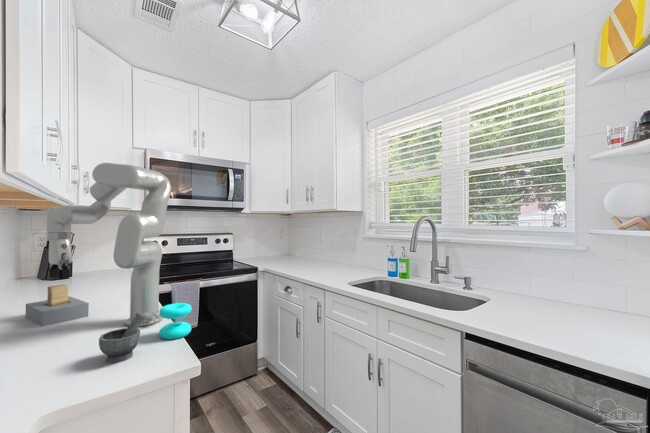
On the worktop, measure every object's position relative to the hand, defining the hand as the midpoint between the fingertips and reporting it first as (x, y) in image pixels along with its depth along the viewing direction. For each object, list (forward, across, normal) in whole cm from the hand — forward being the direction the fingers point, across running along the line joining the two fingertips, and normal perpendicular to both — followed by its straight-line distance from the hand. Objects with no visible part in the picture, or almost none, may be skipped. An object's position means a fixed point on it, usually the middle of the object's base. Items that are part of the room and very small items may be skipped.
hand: (59, 278), depth 119 cm
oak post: (+15, +1, 0) cm, 15 cm away
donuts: (+18, -58, -14) cm, 62 cm away
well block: (+16, +1, 0) cm, 16 cm away
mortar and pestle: (+18, -61, +4) cm, 64 cm away
